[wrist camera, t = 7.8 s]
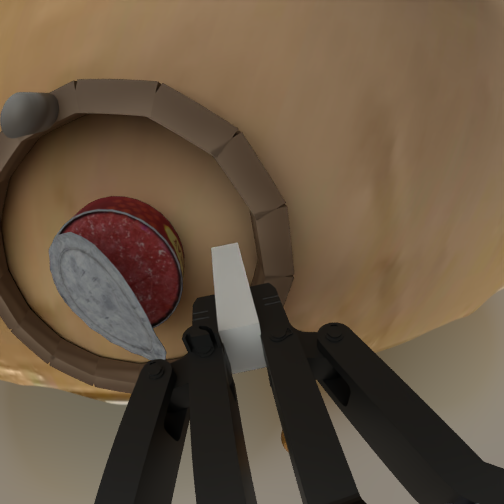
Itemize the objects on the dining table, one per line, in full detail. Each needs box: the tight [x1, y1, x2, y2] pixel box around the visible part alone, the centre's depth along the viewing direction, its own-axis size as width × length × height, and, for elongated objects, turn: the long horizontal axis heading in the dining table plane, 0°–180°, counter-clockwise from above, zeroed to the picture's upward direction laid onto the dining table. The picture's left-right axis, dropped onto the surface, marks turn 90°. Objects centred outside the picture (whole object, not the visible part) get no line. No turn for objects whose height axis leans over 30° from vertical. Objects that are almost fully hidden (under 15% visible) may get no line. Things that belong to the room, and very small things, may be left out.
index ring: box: [0, 79, 294, 394], centre depth 17 cm, size 27×26×6 cm
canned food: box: [49, 196, 184, 360], centre depth 17 cm, size 11×10×10 cm
